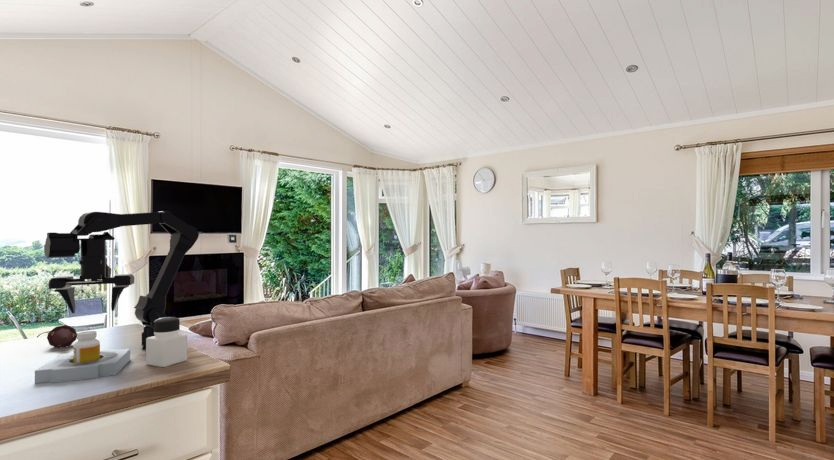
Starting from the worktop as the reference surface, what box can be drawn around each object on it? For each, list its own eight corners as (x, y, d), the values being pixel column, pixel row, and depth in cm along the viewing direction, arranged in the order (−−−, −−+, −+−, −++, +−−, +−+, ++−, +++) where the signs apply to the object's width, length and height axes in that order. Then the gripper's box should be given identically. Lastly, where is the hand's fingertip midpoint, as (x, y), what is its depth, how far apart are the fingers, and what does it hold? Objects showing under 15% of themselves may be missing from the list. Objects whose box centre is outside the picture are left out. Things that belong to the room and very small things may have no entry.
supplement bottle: (105, 367, 113) (105, 330, 113) (87, 374, 108) (87, 335, 108) (86, 367, 114) (86, 330, 114) (67, 373, 108) (67, 334, 108)
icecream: (84, 327, 133) (76, 325, 143) (53, 325, 128) (47, 322, 138) (77, 350, 131) (69, 346, 141) (46, 349, 126) (40, 345, 136)
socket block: (131, 358, 121) (131, 347, 121) (114, 376, 106) (114, 363, 106) (60, 365, 115) (60, 354, 115) (32, 384, 100) (32, 371, 100)
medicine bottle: (187, 360, 119) (187, 316, 119) (163, 367, 112) (162, 321, 112) (170, 357, 122) (170, 314, 122) (145, 364, 115) (145, 319, 115)
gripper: (138, 254, 133) (138, 305, 133) (63, 256, 126) (63, 309, 126) (129, 256, 123) (129, 311, 122) (47, 258, 116) (47, 316, 116)
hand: (93, 311), depth 122 cm, fingers open, 9 cm apart
